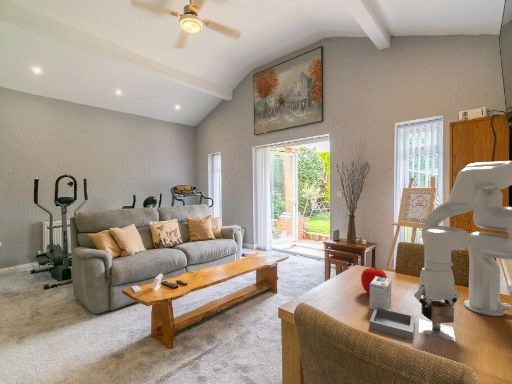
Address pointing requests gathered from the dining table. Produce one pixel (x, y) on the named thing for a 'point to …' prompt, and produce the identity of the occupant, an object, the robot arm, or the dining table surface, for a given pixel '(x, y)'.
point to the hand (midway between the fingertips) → (437, 316)
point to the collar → (440, 312)
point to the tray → (392, 322)
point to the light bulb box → (380, 292)
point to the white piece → (436, 330)
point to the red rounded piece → (371, 277)
